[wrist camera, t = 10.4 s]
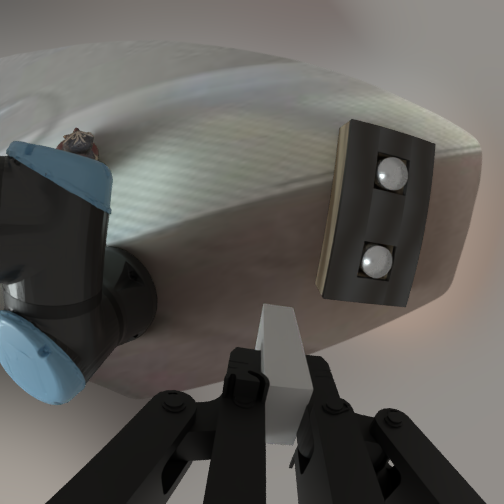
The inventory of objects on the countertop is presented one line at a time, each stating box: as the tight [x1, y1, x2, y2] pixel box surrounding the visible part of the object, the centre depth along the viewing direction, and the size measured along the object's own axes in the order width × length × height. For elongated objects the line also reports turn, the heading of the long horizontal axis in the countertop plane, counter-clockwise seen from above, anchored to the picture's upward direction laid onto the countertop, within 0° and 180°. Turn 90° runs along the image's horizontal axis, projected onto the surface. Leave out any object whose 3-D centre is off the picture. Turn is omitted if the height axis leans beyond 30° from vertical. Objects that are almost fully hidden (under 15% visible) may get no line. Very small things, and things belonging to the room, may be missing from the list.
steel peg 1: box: [373, 157, 408, 190], centre depth 34 cm, size 4×4×6 cm
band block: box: [315, 119, 435, 307], centre depth 36 cm, size 12×22×6 cm, turn 172°
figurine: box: [56, 128, 99, 161], centre depth 32 cm, size 7×7×12 cm
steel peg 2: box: [359, 241, 392, 278], centre depth 37 cm, size 4×4×6 cm
